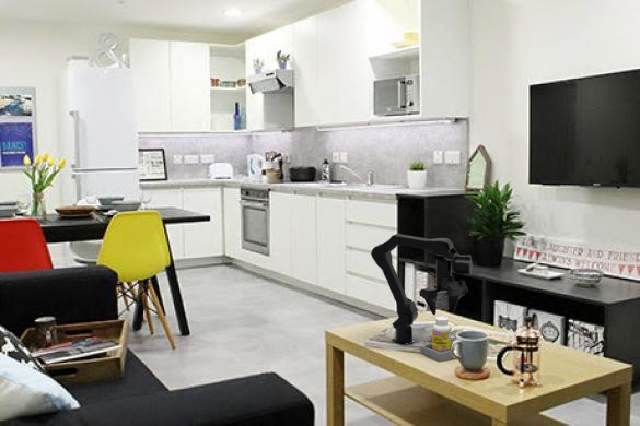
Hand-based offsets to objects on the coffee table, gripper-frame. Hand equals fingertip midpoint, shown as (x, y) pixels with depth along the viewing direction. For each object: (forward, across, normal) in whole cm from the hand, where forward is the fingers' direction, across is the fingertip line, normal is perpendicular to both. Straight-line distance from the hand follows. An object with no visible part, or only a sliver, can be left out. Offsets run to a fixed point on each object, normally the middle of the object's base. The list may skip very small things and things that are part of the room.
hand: (443, 313), depth 254 cm
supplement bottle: (+12, -6, -7) cm, 15 cm away
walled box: (+13, -6, -7) cm, 16 cm away
